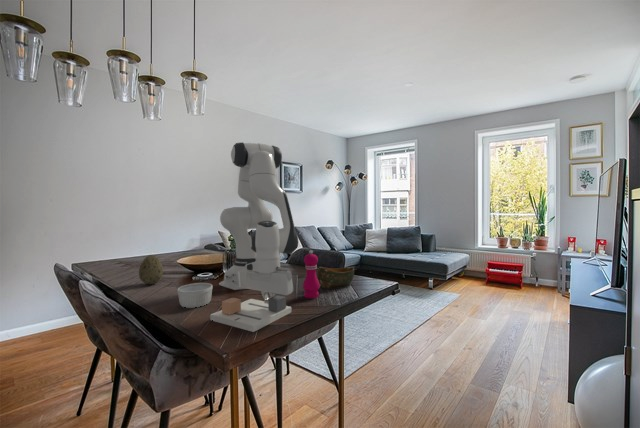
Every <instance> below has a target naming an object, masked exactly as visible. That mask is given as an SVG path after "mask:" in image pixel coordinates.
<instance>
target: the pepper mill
mask: <svg viewBox="0 0 640 428" xmlns="http://www.w3.org/2000/svg"><path fill="white" fill-rule="evenodd" d="M313 253H314V251H313V250H311V249H310V250H309V251H308V254H306V255H305V256H304V258H303V263H304V264H305V266H304V267H305V270H306V275H305V279H304V281H303V284H302V288H303V290H304V291H303V292H304V294H303V296H304V298H305V299H316V298H318V297H319V296H320V295H319V294H320V293H319V289H320V286H321V284H319V281H318V279H317V272H316V271H317V270H316V269H317V268H318V266H317V264H318V262H319V258H318V256H317V255H316V254H313Z"/></svg>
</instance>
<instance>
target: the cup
mask: <svg viewBox="0 0 640 428" xmlns="http://www.w3.org/2000/svg"><path fill="white" fill-rule="evenodd" d="M316 271H317V273H316V277H317V279H318V281H319V285H320V286H321V288H322V289H324V290H336V289H337V290H338V289H343V288H347V287H349V286H350V284H351V283H352V281H353V279H354V276H355V267H353V266H352V267H351V266H348V267H339V268H328V267H324V266H319V267H317V269H316Z"/></svg>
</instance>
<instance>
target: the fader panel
mask: <svg viewBox="0 0 640 428" xmlns="http://www.w3.org/2000/svg"><path fill="white" fill-rule="evenodd" d="M292 309H293V308H292V306H288V305H286V308H285V309H283V310H281V311H279V312H275V311H270V310H269V305H268V304H266V303H264V300H260V299H255V298H249V299H247V300H245V301H241V311H238V312H236V313H233V314H231V315H229V314H225V313H222V309H221V310H217V311H216V312H213V313H211V314H210V315H209V317H210V321H212V320H213V322H215V323H219V324H223V325H227V326H230V327H233V328H237V329H241V330H245V331H248V332H252V333H255V332H256V331H259V330H260V329H263V328H264V327H266V326H268V325H270V324H271V323H274V322H276V321H278V320H279V319H281V318H283V317H285V316H287V315H289V314H291V313H292Z"/></svg>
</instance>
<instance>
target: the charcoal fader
mask: <svg viewBox="0 0 640 428" xmlns="http://www.w3.org/2000/svg"><path fill="white" fill-rule="evenodd" d="M268 305H269V310H270V311H275V312H279V311H281V310H283V309H285V308H286V306H287V296H285V295H279V294H276V295H275V296H274V297H272V298H270V299H268Z"/></svg>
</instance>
